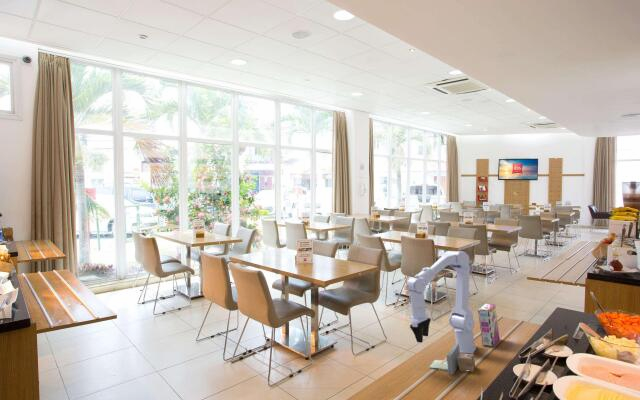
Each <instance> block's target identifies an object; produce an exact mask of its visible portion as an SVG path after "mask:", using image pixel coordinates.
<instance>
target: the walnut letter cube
mask: <svg viewBox="0 0 640 400" xmlns="http://www.w3.org/2000/svg"><path fill="white" fill-rule="evenodd" d="M458 363H459V365H458V368H459V371H462V372H467V371H466V370H469V371H470V372H469V373H474V371H475V369H476V363H475V354H474V353H473V354H470V353H460V355H459V357H458Z"/></svg>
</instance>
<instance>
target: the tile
mask: <svg viewBox="0 0 640 400" xmlns="http://www.w3.org/2000/svg"><path fill="white" fill-rule="evenodd" d="M442 361H443V359H442V360H441V359H440V360H439V359H434V360H433V361H432V363H431V364H430V366H429V369H432V370H433V368H438V369H437V370H440V369H441V370H440V371H448V364H447V360H445V361H446V362H444V363H443V364H441V365H439V364H440V363H441V362H442ZM438 365H439V366H438ZM437 366H438V367H437Z"/></svg>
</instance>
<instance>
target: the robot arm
mask: <svg viewBox="0 0 640 400" xmlns="http://www.w3.org/2000/svg"><path fill="white" fill-rule="evenodd" d="M447 266H449V267H451V268H452V269H453V270H454V271H455V272H456V282H455V283H456V284H455V285H456V287H455V304H454V305H455V306H454V307H453V308H452V309H451V311H450V315H449V319H448V321H449V325H450V326H451V327H452V330H454V332H453V333H454V338H455V344H459V349H460V354H461V353H463V354H474V353H475V351H476V349H477V347H478V345H477V344H475V339H474V338H475V336H474V332H473V329H474V327H475V319H474V313H473V312H472V311H471V310H470V309H469V298H470V297H469V296H470V277H471V276H470V273H471V272H470V271H471V269H470V256H469V255H468V254H467V253H466V252H465V251H464V250H463V251H462V250H461V251H459V250H457V251H456V250H446V251H444V253H442V254H441V257H439V258H438V260H436V261H435V262H434V263H433V264H432V265H431V266H430V267H423V268H422V269H421V271H420V272H419V273H418V274H415V275H414V277H410V278H409V279H408V280H407V282H406V284H405V288H406V290H407V291H408V293H409V296H410V297H409V298H410V304H411V312H412V313H411V314H412V315H411V316H410V319H411V320H412V321H411V324H410V325H409V328H410V329H411V331H412V333H413V335H414V338H415V339H416V342H417V343H420V344H421V343H423V342H424V341H423V340H424V337H429V331H430V330H429V329H430V324H431V321H432V318H430V317H429V315H428V312H427V308H426V301H425V294H424V292H425V291H426V290H427V289H426V288H427V286H428V285H429V284H430V283H431V282H432V281H434V279H436V274H438V273H439V272H440V271H442V270H443V269H444V268H446V267H447Z"/></svg>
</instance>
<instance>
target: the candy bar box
mask: <svg viewBox="0 0 640 400" xmlns="http://www.w3.org/2000/svg"><path fill="white" fill-rule="evenodd" d="M496 308H497V307H496V304H495V303H494V304H492V303H484V304H482V306H481V307H479V308H478V309H477V310H478V311H477V313H478V319H479V326H480V328H479V329H480V336H481V342H482V346H483V347H490V346H493V347H494V346H495V345H496V344H497V343H496V342H498V341H499V340H500V330H499V325H498V315H497V309H496ZM495 343H496V344H495Z"/></svg>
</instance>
